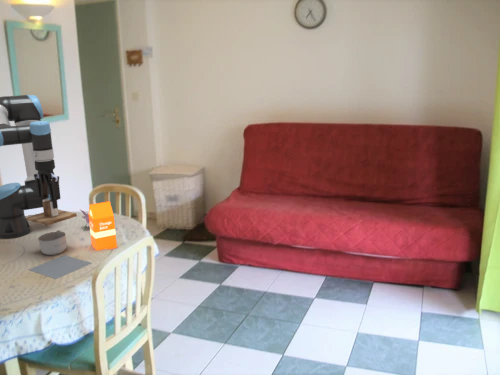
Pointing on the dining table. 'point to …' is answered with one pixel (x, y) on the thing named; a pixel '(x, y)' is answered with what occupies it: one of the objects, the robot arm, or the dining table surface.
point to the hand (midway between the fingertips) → (51, 214)
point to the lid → (50, 216)
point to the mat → (60, 266)
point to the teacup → (53, 243)
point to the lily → (86, 217)
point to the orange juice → (102, 226)
